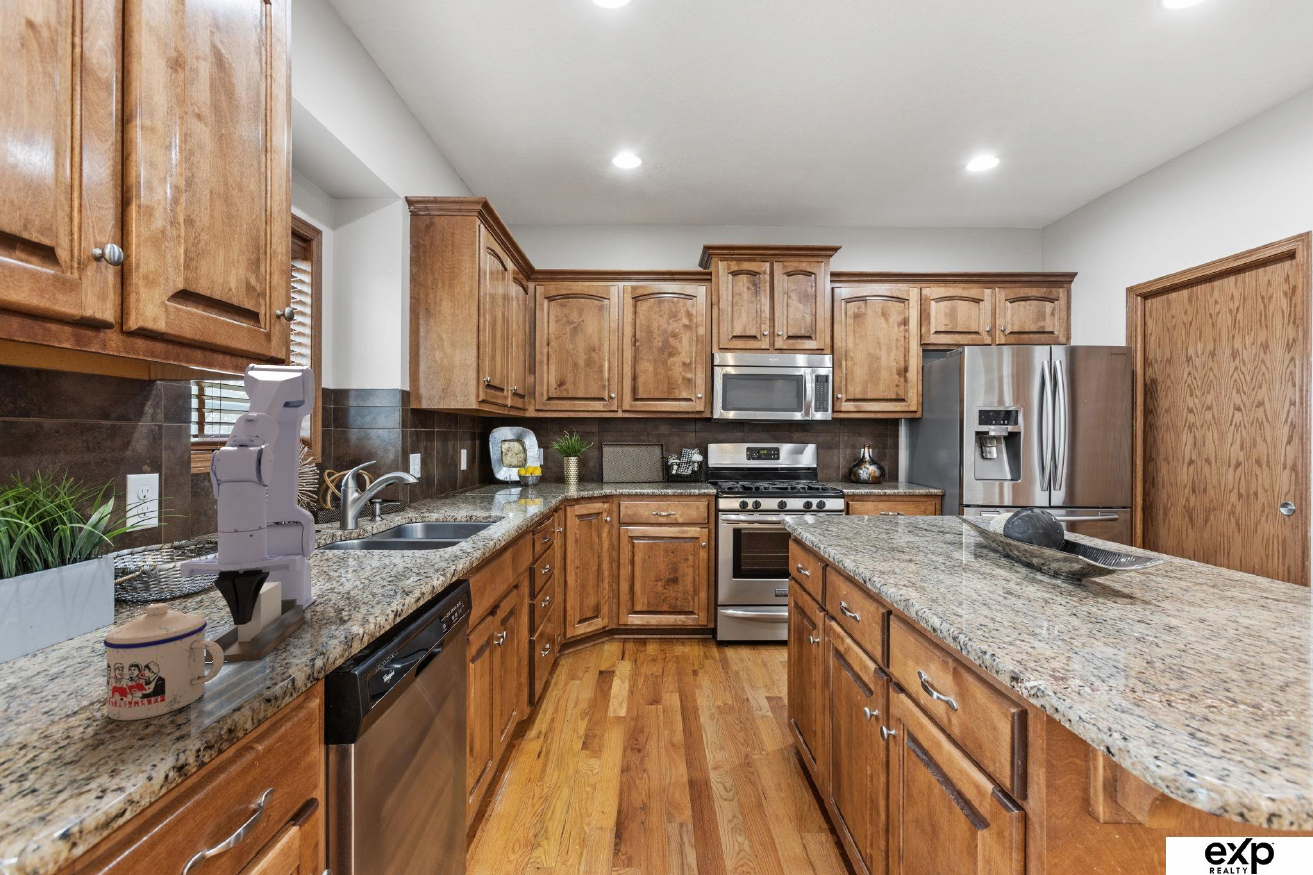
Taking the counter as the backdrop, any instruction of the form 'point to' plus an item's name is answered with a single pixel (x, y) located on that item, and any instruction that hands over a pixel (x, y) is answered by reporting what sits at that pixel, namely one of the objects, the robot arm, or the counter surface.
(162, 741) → the counter surface
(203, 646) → the teacup with lid
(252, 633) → the beige rectangular block
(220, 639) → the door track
